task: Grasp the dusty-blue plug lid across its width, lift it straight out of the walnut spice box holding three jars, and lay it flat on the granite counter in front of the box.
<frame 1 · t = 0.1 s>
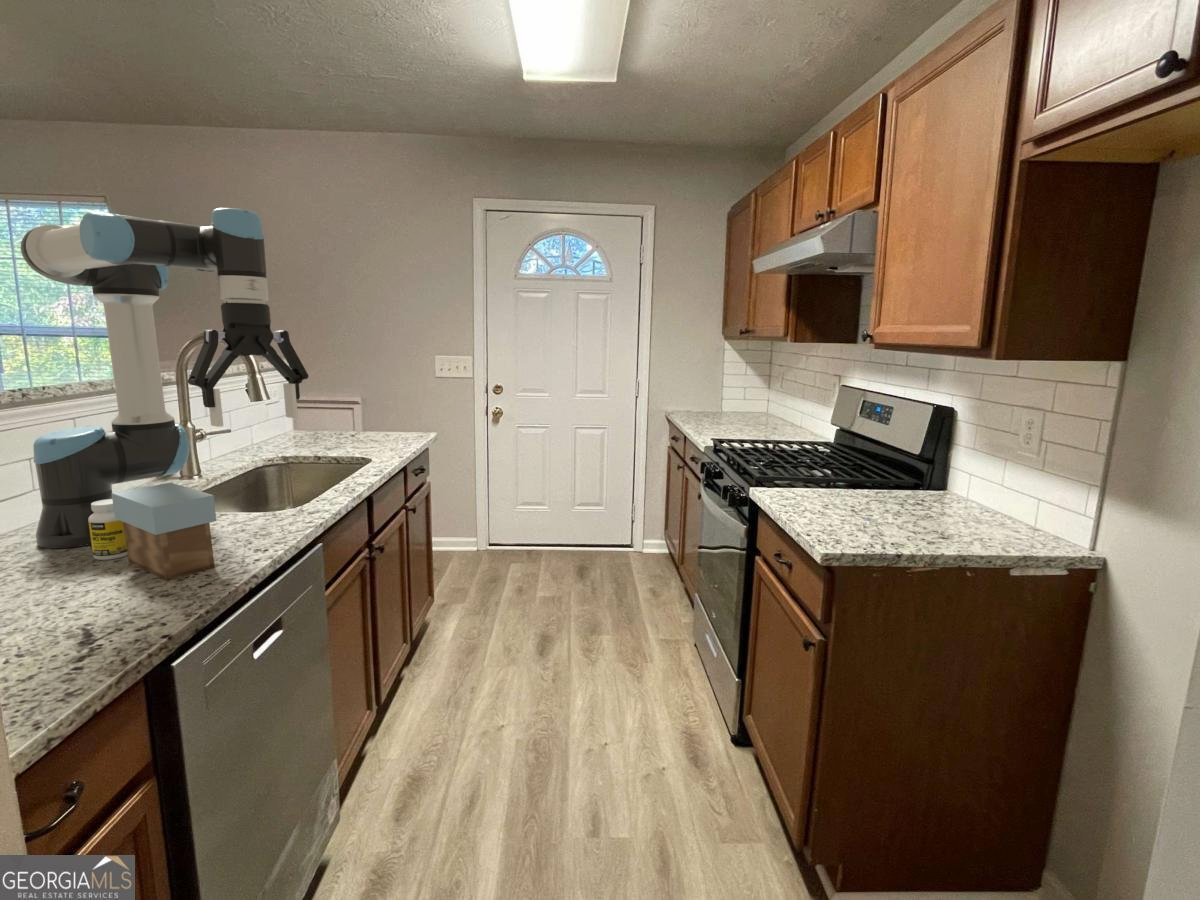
hand: (256, 421, 113), 28 cm above the table, fingers open, 13 cm apart
box: (171, 564, 118), on the table
pill bottle: (113, 556, 123), on the table
lid: (165, 519, 116), point 9 cm above the table, touching box
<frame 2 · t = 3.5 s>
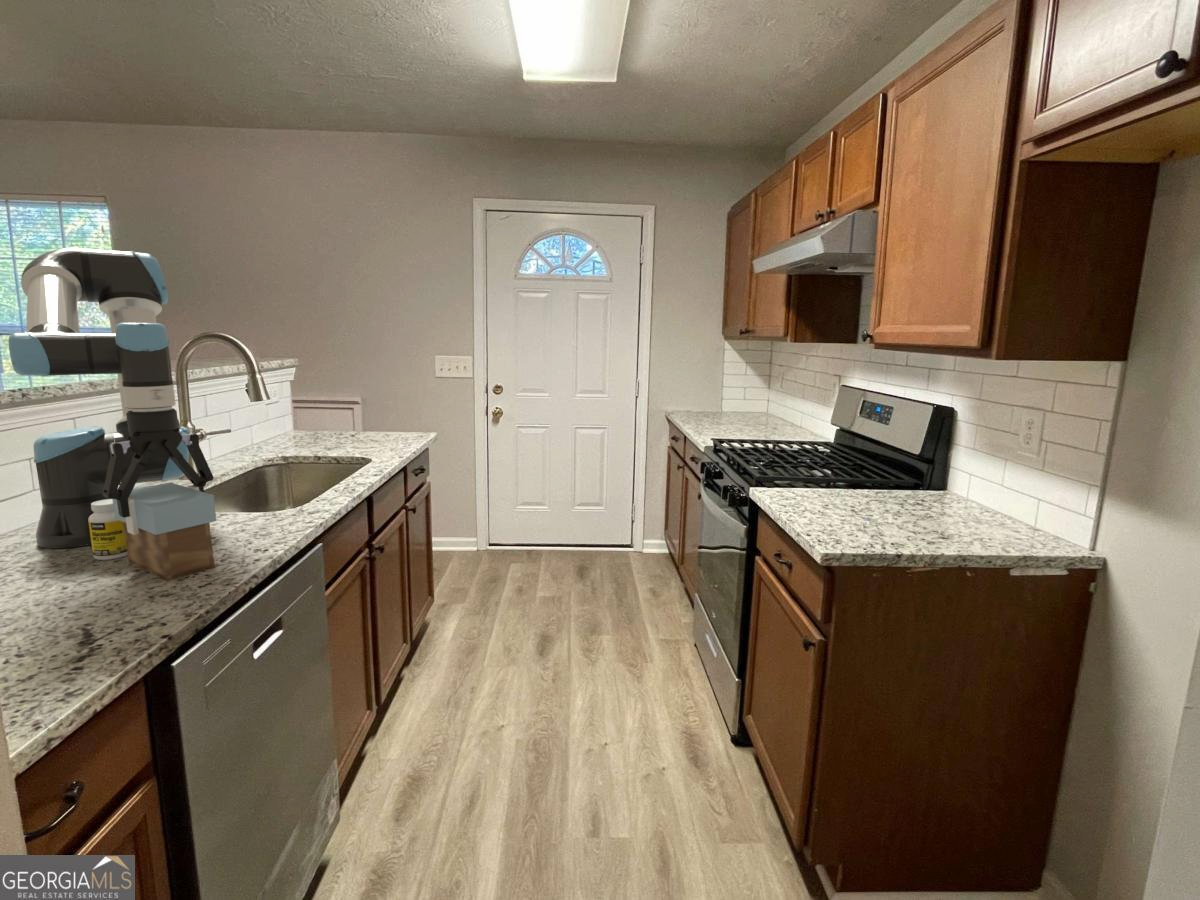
hand: (166, 525, 117), 8 cm above the table, fingers closed on lid, 10 cm apart
lid: (165, 519, 116), point 9 cm above the table, touching box, gripper
everything else where it was.
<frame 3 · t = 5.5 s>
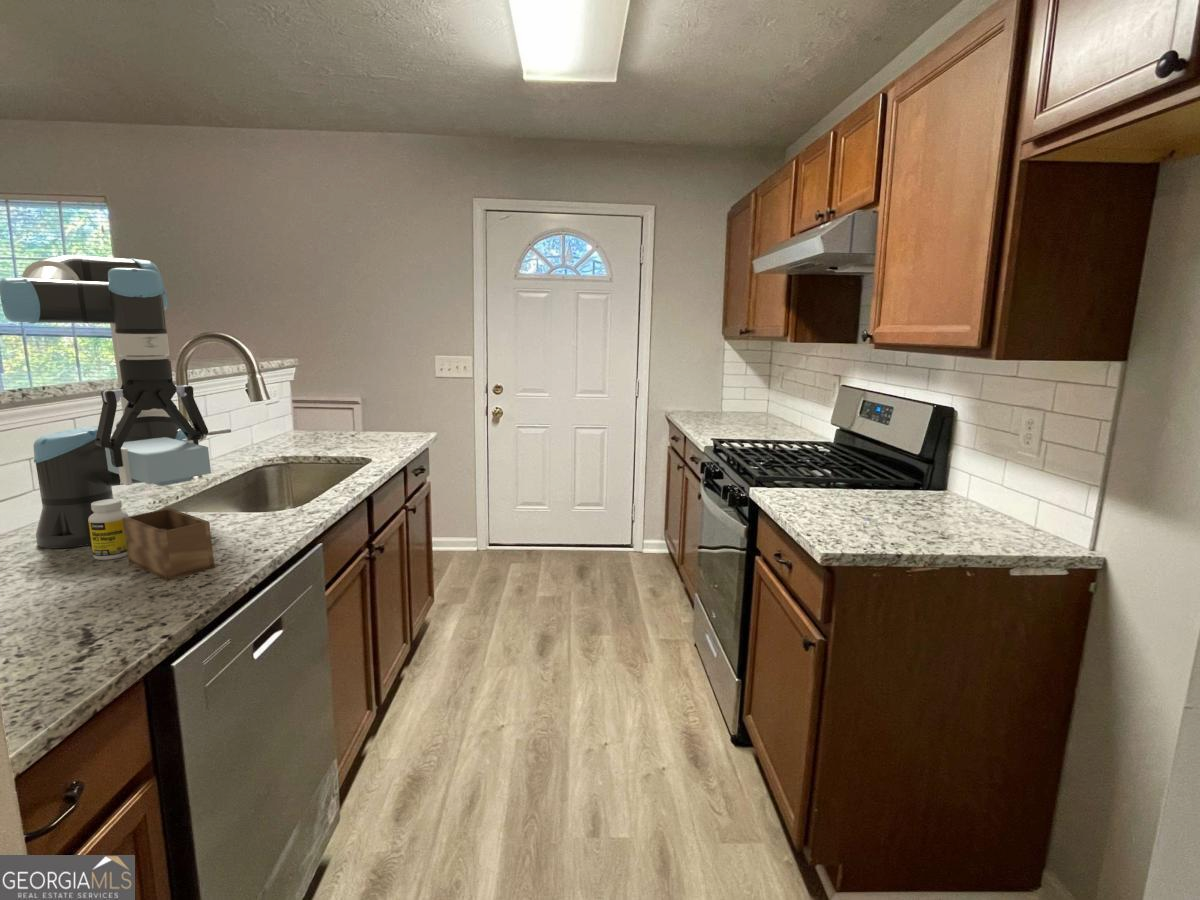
hand: (160, 478, 115), 17 cm above the table, fingers closed on lid, 10 cm apart
lid: (159, 472, 115), point 18 cm above the table, touching gripper
everything else where it was.
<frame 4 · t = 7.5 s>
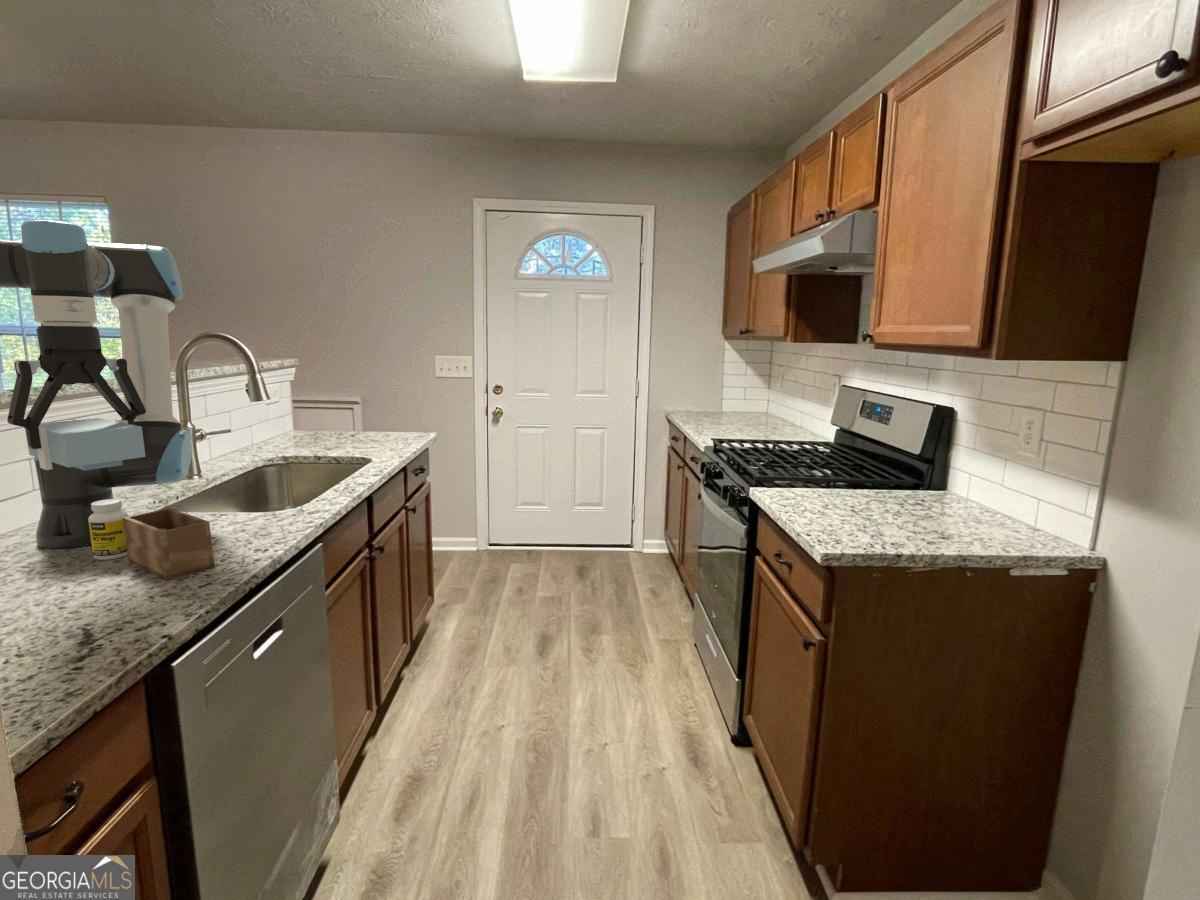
hand: (88, 462, 101), 23 cm above the table, fingers closed on lid, 10 cm apart
lid: (87, 455, 101), point 24 cm above the table, touching gripper
everything else where it was.
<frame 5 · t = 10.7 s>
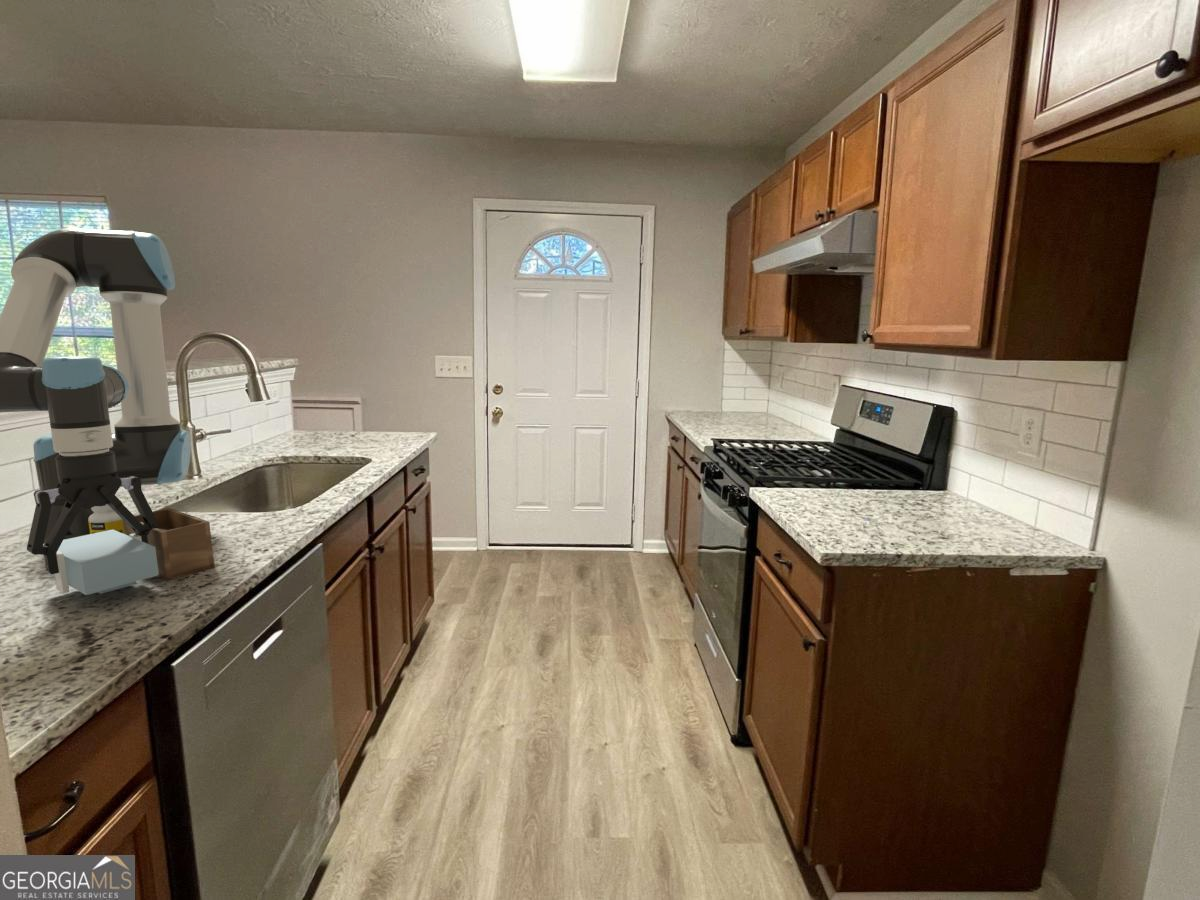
hand: (103, 580, 105), 2 cm above the table, fingers closed on lid, 10 cm apart
lid: (102, 573, 104), point 4 cm above the table, touching gripper
everything else where it was.
when the fingers open (2 cm above the table, at t = 11.7 s): lid drops 2 cm, point 1 cm above the table.
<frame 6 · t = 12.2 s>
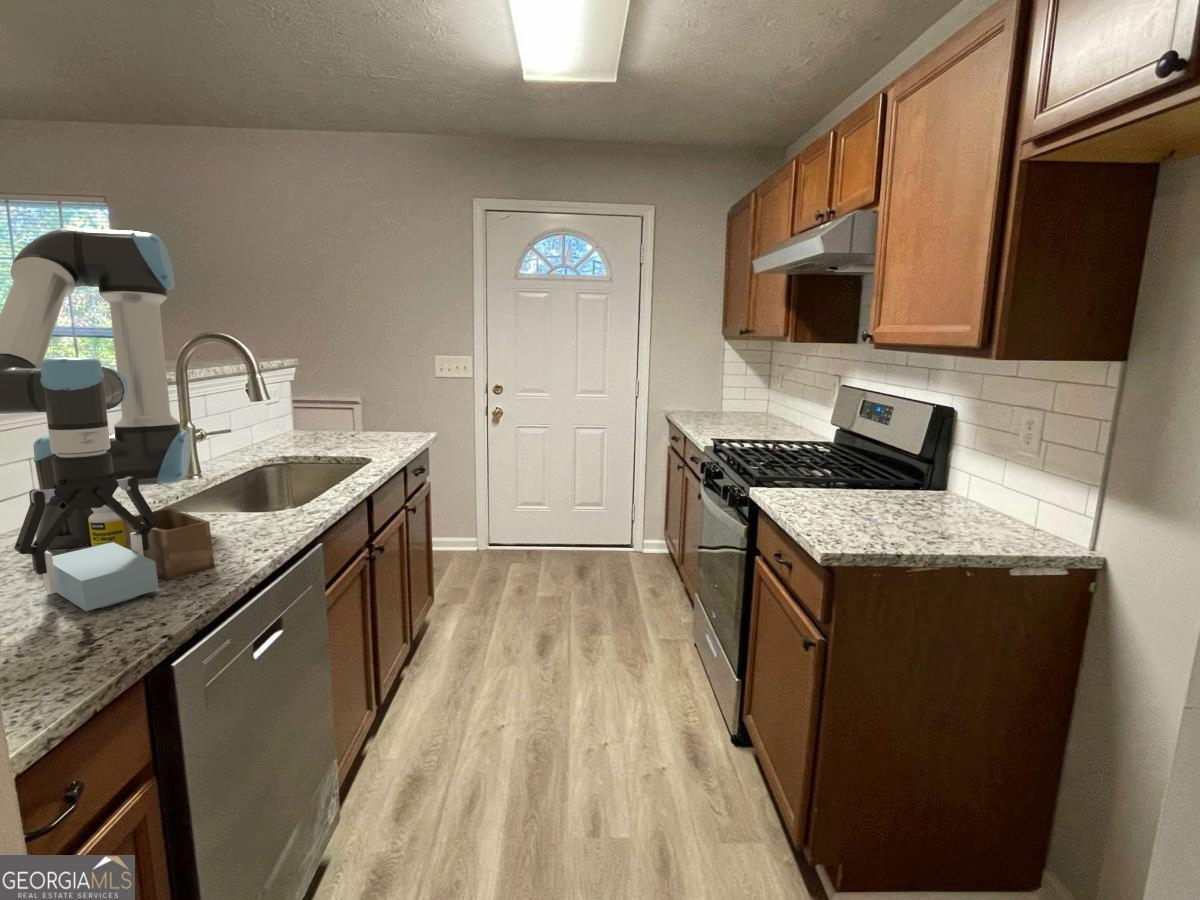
hand: (97, 579, 104), 3 cm above the table, fingers open, 11 cm apart
lid: (102, 587, 105), point 1 cm above the table
everything else where it was.
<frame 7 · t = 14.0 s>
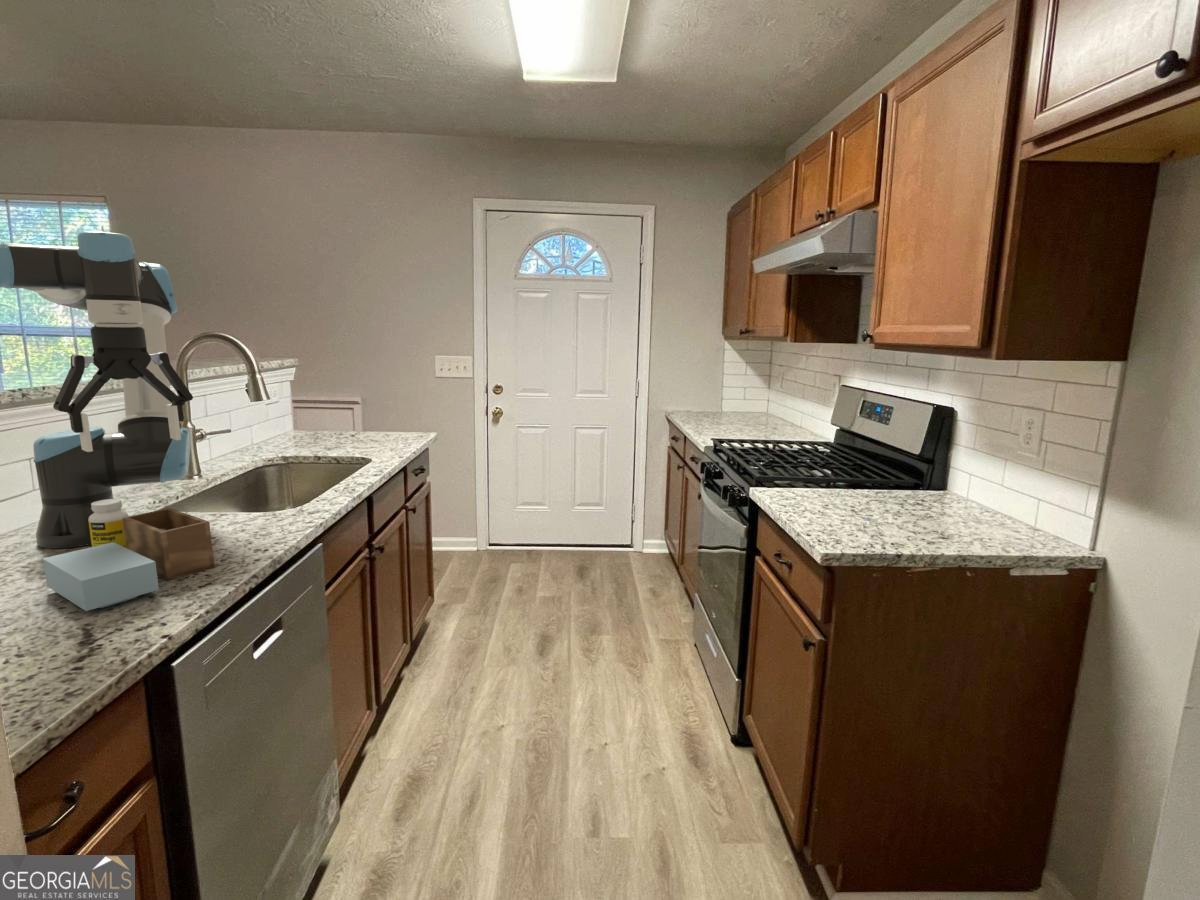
hand: (133, 444, 112), 24 cm above the table, fingers open, 13 cm apart
nothing on the table moved.
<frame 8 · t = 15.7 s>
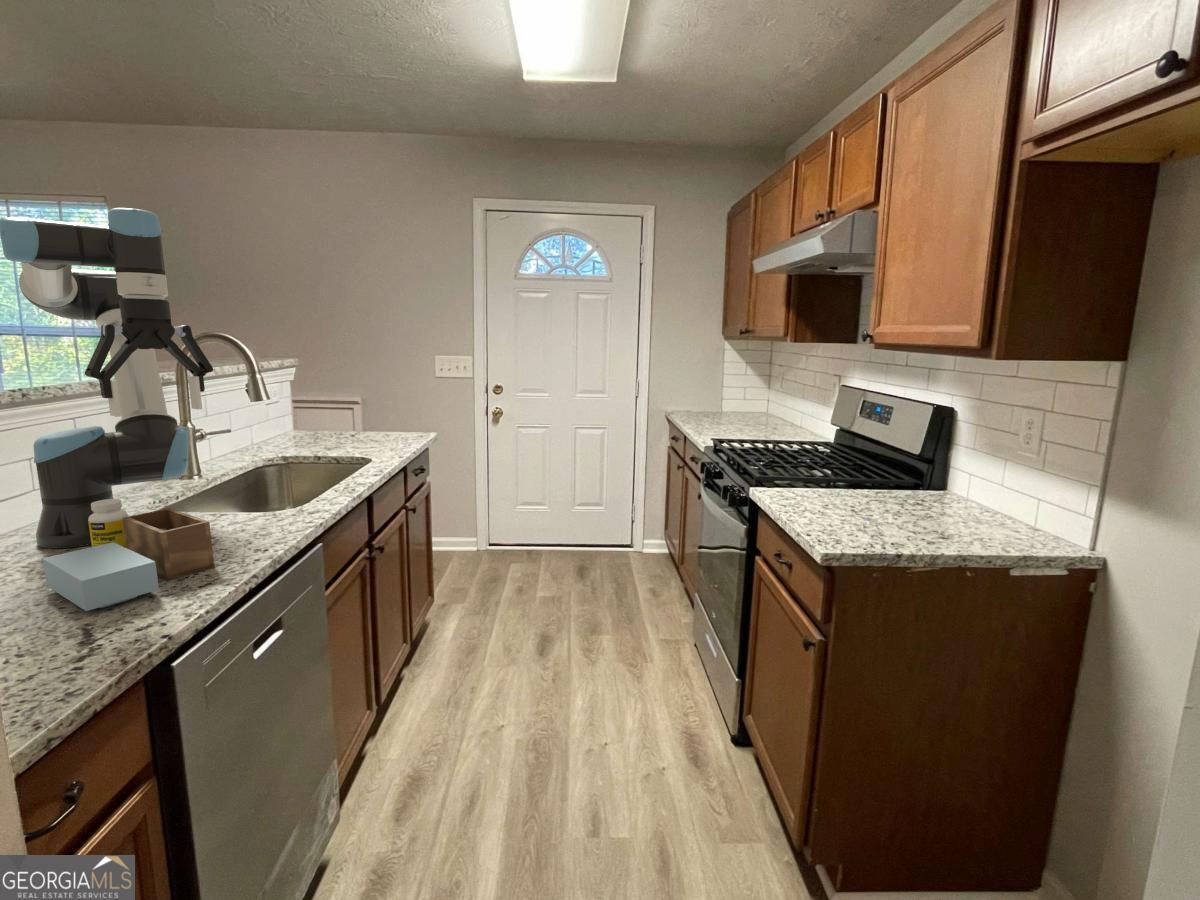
hand: (158, 412, 118), 29 cm above the table, fingers open, 13 cm apart
nothing on the table moved.
at the end: lid inside the target area (0.3 cm from its centre), point 1.1 cm above the table; lid tilted 0°; lid touching table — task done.
